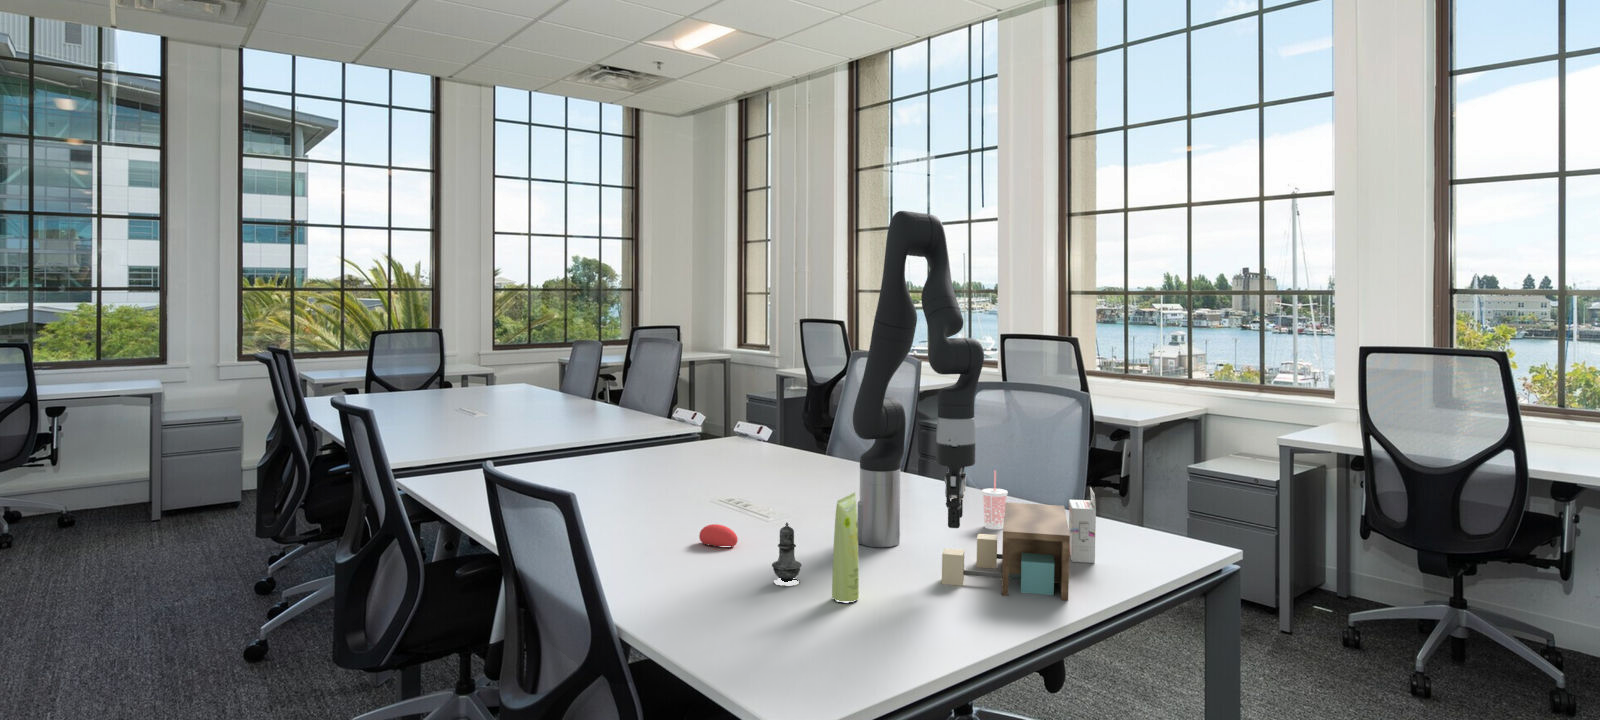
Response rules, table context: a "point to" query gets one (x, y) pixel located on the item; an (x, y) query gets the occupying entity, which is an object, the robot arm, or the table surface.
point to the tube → (846, 551)
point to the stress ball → (718, 535)
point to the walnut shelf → (1035, 540)
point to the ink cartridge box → (1082, 529)
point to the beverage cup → (994, 506)
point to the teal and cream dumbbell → (1033, 573)
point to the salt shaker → (786, 556)
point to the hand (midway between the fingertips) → (955, 522)
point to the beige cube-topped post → (987, 551)
